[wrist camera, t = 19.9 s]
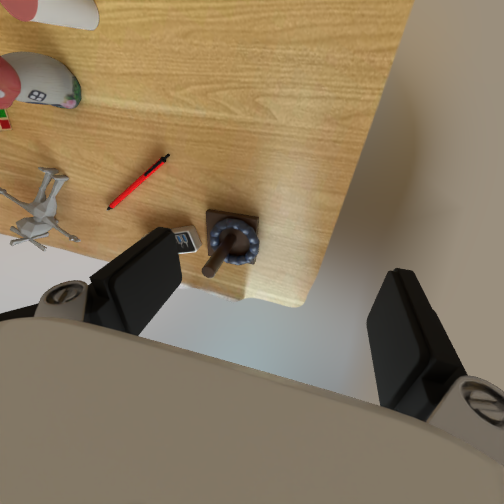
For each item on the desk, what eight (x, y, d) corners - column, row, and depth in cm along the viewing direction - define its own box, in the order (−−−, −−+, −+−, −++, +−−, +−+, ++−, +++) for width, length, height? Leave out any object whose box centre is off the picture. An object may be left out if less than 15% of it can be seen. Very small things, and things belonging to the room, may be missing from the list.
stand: (259, 216, 39) (239, 251, 30) (255, 261, 44) (237, 302, 35) (208, 208, 41) (175, 239, 32) (210, 252, 46) (182, 289, 37)
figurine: (86, 203, 42) (53, 271, 46) (116, 199, 50) (85, 257, 54) (-10, 138, 39) (-35, 216, 44) (38, 145, 48) (13, 210, 52)
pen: (172, 156, 37) (168, 158, 37) (110, 211, 46) (106, 213, 46) (168, 151, 37) (164, 152, 36) (107, 207, 46) (102, 209, 45)
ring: (261, 221, 38) (259, 225, 37) (258, 265, 43) (256, 270, 42) (211, 213, 40) (207, 217, 39) (212, 256, 45) (209, 261, 43)
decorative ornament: (40, 102, 38) (-93, 102, 26) (25, 50, 35) (-138, 21, 22) (90, 113, 37) (-24, 118, 25) (80, 61, 34) (-61, 36, 21)
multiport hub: (202, 245, 45) (197, 252, 44) (157, 251, 49) (150, 257, 47) (194, 225, 43) (188, 230, 42) (147, 232, 47) (139, 237, 45)
